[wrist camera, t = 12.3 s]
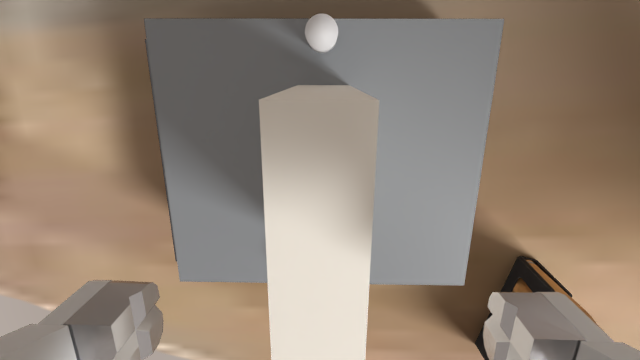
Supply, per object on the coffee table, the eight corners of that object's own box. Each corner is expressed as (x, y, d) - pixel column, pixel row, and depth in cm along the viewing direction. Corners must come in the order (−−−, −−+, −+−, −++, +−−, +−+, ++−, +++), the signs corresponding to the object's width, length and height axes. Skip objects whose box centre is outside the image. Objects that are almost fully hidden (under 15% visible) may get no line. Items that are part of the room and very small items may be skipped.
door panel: (349, 85, 20) (379, 100, 8) (344, 239, 23) (362, 405, 11) (297, 85, 20) (258, 99, 8) (300, 238, 23) (273, 403, 11)
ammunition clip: (518, 254, 32) (626, 356, 20) (537, 259, 32) (654, 363, 21) (474, 343, 35) (546, 475, 24) (491, 347, 35) (571, 480, 24)
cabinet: (452, 34, 26) (536, 9, 16) (430, 234, 31) (482, 314, 21) (188, 34, 27) (98, 8, 16) (208, 231, 32) (150, 309, 21)
